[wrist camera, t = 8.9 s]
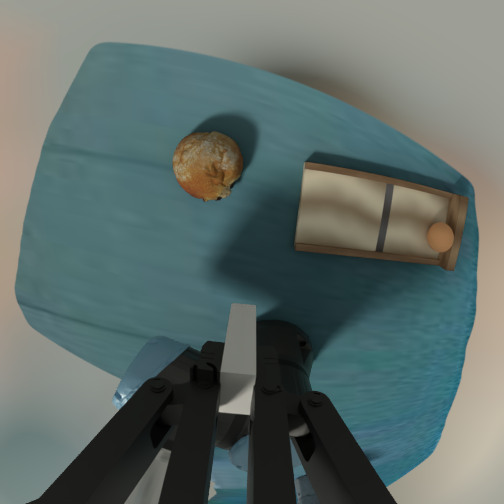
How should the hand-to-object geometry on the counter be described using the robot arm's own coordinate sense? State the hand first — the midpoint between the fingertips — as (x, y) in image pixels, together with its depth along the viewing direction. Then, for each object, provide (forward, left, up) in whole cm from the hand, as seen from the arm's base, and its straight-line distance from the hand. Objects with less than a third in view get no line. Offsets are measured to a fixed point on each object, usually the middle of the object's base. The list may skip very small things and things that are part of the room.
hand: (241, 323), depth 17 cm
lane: (+5, -21, -26) cm, 34 cm away
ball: (+4, -29, -22) cm, 37 cm away
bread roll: (+10, +7, -27) cm, 29 cm away
